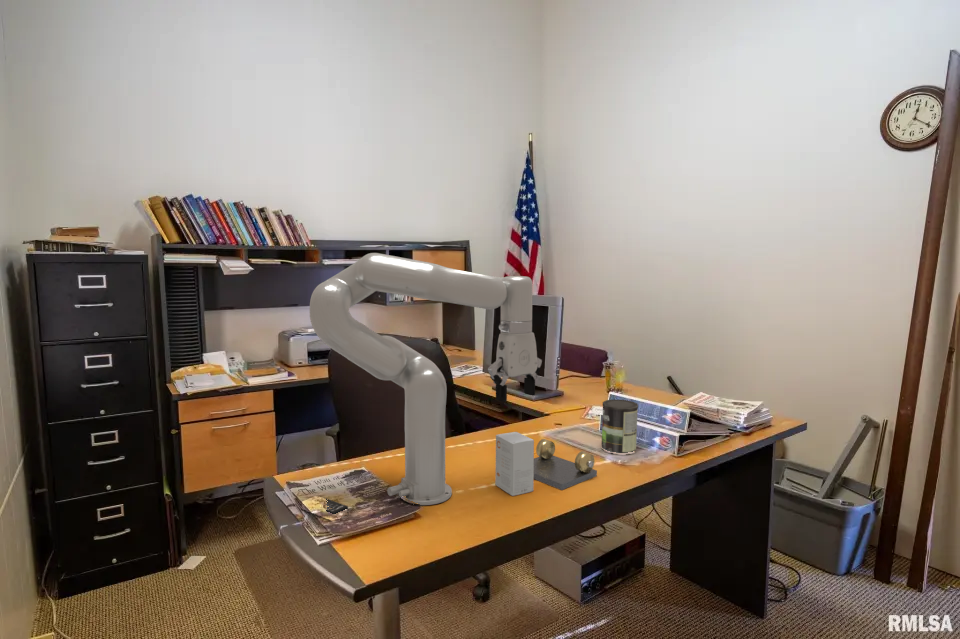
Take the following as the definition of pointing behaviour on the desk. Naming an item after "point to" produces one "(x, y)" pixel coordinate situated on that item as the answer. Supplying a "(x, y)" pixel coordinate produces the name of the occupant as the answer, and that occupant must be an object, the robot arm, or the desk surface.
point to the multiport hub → (335, 507)
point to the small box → (514, 463)
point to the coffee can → (619, 426)
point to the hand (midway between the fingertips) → (515, 397)
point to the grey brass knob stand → (561, 467)
